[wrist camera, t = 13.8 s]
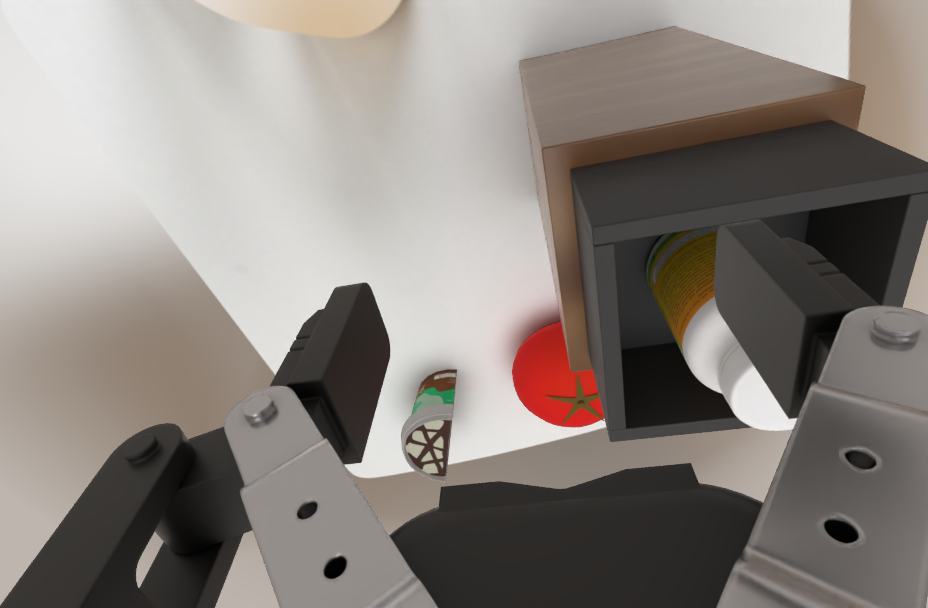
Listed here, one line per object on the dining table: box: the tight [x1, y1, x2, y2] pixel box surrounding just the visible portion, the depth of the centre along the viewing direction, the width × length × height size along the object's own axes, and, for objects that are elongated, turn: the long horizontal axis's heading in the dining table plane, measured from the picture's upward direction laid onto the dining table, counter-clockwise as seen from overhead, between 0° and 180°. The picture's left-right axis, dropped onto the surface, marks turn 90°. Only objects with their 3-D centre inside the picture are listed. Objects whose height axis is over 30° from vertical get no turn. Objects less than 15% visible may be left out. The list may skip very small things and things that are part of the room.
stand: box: [519, 26, 866, 372], centre depth 39 cm, size 14×14×28 cm
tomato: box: [512, 321, 604, 427], centre depth 61 cm, size 14×13×10 cm
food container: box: [401, 370, 457, 482], centre depth 67 cm, size 12×6×10 cm, turn 175°
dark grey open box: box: [570, 120, 928, 442], centre depth 24 cm, size 12×12×7 cm
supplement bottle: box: [646, 222, 797, 431], centre depth 22 cm, size 5×5×10 cm
